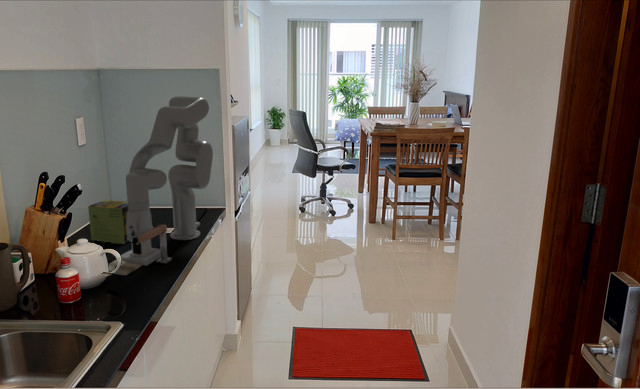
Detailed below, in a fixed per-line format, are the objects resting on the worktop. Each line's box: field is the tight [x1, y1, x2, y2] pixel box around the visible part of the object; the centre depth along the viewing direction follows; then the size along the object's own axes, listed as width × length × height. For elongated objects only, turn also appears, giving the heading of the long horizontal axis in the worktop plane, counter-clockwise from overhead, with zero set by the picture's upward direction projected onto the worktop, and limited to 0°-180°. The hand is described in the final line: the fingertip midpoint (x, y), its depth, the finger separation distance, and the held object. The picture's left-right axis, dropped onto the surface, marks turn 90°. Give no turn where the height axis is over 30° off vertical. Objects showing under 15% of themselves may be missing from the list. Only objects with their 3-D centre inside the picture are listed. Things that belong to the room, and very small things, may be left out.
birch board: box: [108, 259, 142, 276], centre depth 173 cm, size 9×11×1 cm
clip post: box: [155, 231, 173, 264], centre depth 179 cm, size 4×4×12 cm
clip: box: [138, 224, 168, 242], centre depth 172 cm, size 3×15×2 cm, turn 165°
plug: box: [131, 235, 152, 257], centre depth 182 cm, size 5×5×11 cm
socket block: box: [120, 247, 161, 266], centre depth 183 cm, size 12×12×2 cm
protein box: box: [88, 199, 136, 245], centre depth 201 cm, size 10×15×16 cm
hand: (141, 250), depth 182 cm, fingers closed on plug, 5 cm apart
